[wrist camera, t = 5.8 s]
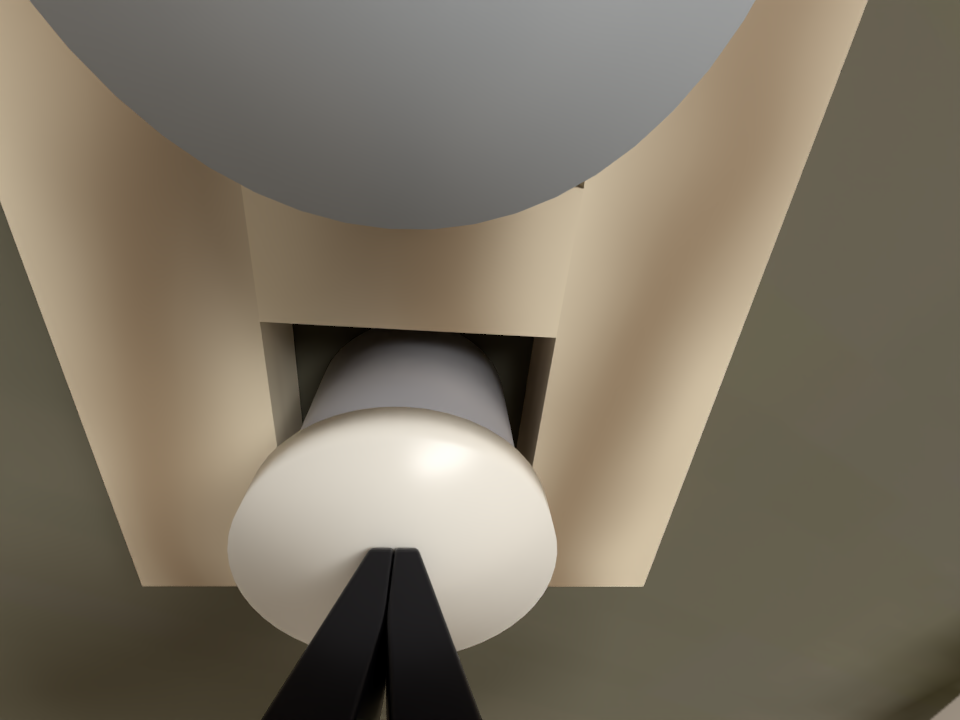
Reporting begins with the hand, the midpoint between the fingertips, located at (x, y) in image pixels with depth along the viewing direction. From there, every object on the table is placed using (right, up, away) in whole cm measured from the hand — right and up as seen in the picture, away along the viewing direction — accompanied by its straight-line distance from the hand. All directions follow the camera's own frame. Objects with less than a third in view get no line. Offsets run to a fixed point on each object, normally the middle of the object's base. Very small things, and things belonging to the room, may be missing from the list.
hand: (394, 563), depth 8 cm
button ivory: (0, +2, +4) cm, 5 cm away
